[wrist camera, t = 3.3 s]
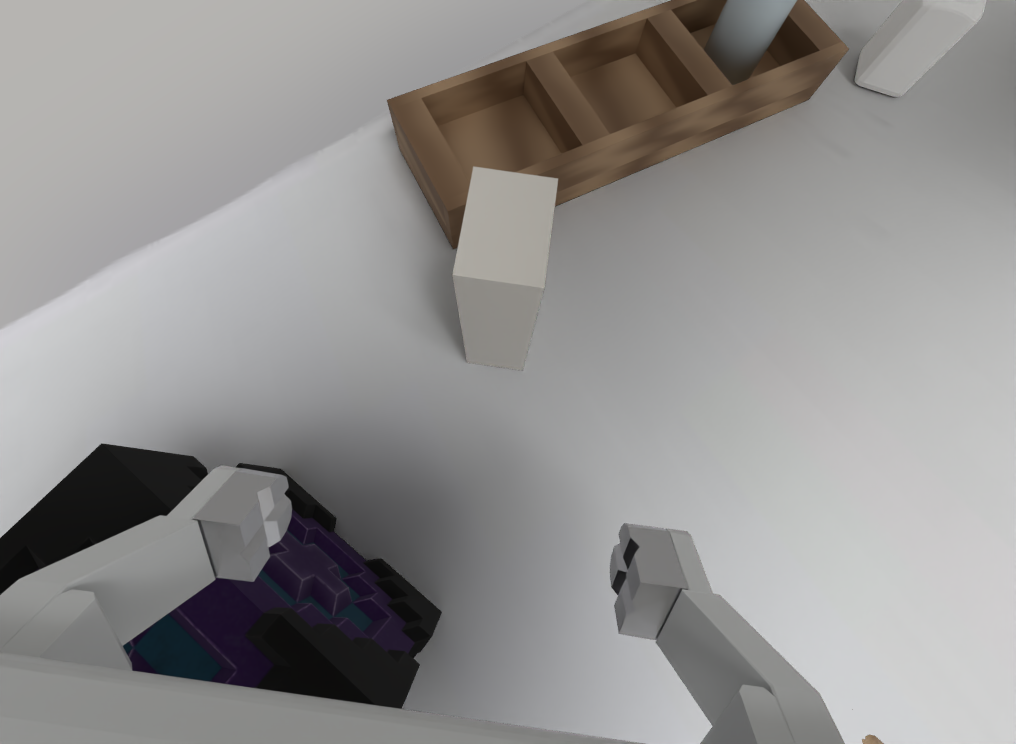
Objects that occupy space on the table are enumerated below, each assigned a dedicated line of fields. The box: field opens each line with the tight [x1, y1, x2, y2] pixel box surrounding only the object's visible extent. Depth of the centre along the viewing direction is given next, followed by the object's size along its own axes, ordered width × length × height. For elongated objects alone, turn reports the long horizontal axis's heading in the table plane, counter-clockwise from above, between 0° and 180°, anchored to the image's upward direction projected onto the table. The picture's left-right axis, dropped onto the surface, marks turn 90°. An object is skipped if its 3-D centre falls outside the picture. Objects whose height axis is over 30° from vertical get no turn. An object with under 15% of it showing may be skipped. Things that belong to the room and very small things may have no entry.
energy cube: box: [0, 444, 442, 709], centre depth 17 cm, size 12×12×12 cm
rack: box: [387, 0, 849, 249], centre depth 31 cm, size 30×9×4 cm, turn 117°
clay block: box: [452, 166, 558, 371], centre depth 22 cm, size 4×5×11 cm
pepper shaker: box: [855, 0, 987, 97], centre depth 30 cm, size 4×4×10 cm
